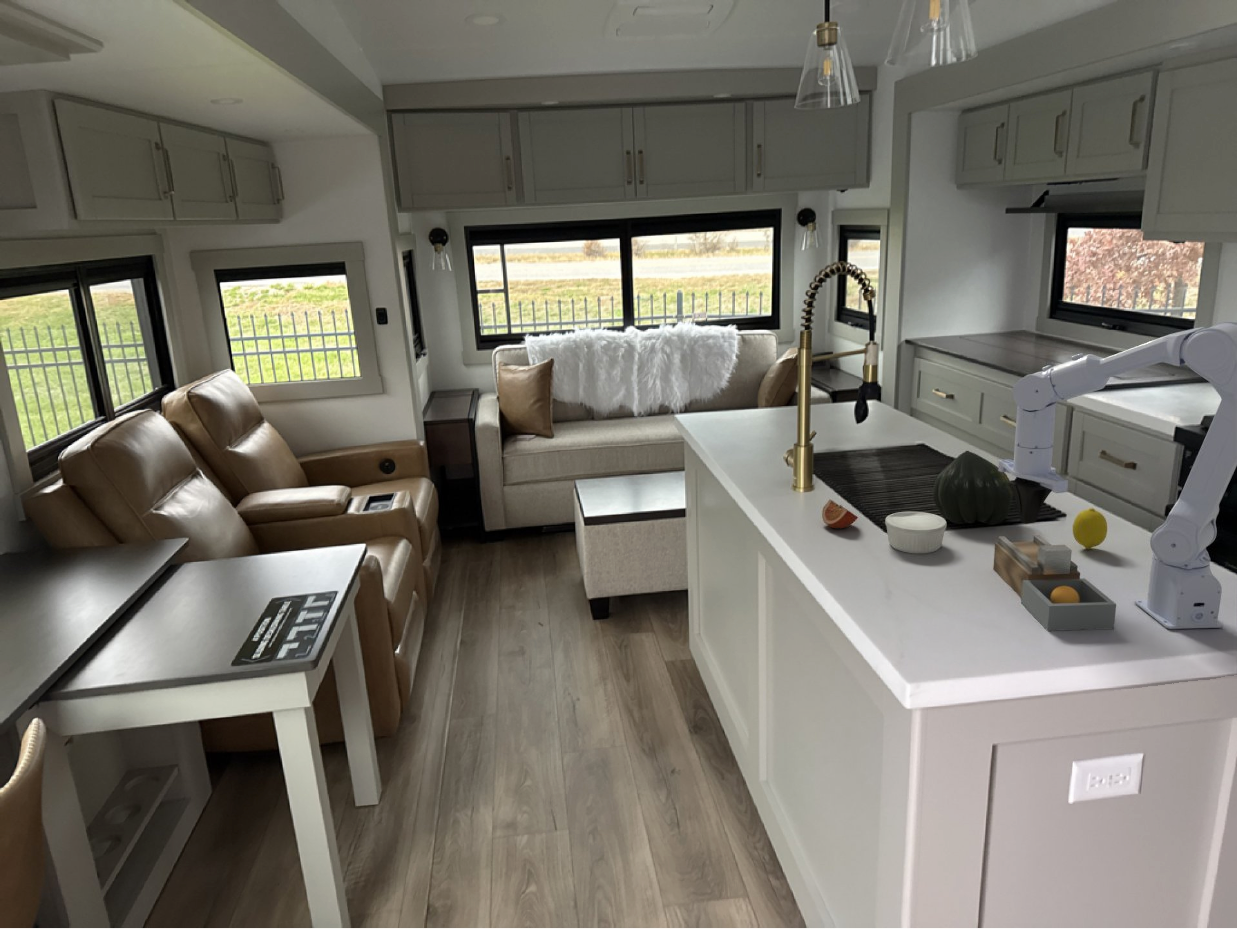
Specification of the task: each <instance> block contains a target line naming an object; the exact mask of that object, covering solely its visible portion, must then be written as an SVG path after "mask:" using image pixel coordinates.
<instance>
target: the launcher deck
mask: <svg viewBox="0 0 1237 929" xmlns="http://www.w3.org/2000/svg"><path fill="white" fill-rule="evenodd" d="M1032 538H1033V539H1032V540H1033V541H1015V542H1011V541H1010V540H1009V539H1008V538H1007V537H1006V536H1005V535H1004V536H998V538H997V542H994V553H993V555H994V556H993V568H992V570H993V571H994V572H995V573H996V574H997V575H998V576H1000V578H1001V579H1002V580H1003V581H1004V582H1005V583H1006V584H1007V585H1008V586H1009V587H1010V588H1011V590H1013V591H1014V592H1015V593H1016V594H1017V595H1018V596H1019V597H1020V598H1022V585H1023V580H1049V579H1081V572H1080V571H1079V570H1078V568H1079V566H1078V565H1077V564H1076V563H1075V562H1074V561H1072V560H1071V564H1070V574H1048V575H1043V574H1042V573H1041V572H1040V571H1039V567H1038V566H1037V563H1038V550H1039V546H1041V545H1052V544H1051V543H1050V542H1049V541H1047V540H1046V539H1045V538H1044V537H1042V536H1041V535H1040V534H1035V535H1033V537H1032Z"/></svg>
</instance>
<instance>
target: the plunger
mask: <svg viewBox="0 0 1237 929" xmlns="http://www.w3.org/2000/svg"><path fill="white" fill-rule="evenodd" d="M1072 551H1073V550H1072V548H1069V547H1068V546H1067V545H1066V544H1051V545H1041V546H1039V550H1038V563H1037V566H1038V567H1039V571H1040V572H1041V573H1042V574H1043V575H1048V574H1070V564H1071V561H1072Z"/></svg>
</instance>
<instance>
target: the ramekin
mask: <svg viewBox="0 0 1237 929" xmlns="http://www.w3.org/2000/svg"><path fill="white" fill-rule="evenodd" d="M884 524H885V526H886V530H887V531H886V532H887V537H888V538H887V539H888V543H889V544H890V545H891V547H892V548H893V549H895V550H897V551H900V552H904V553H907V554H917V555H918V554H921V555H922V554H930V553H933V552H935V551H936V552H937V550H939V549H940V548H941V546H942V545H943V544H942V543H943V541H944V540H943V539H944V535H945V530H946V528H947V521H946V518H945V517H942V516H940V515H937V514H933V513H929V512H923V511H901V512H895V513H892V514H889V515H887V516H886V517H885V521H884Z"/></svg>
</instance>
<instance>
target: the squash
mask: <svg viewBox="0 0 1237 929" xmlns="http://www.w3.org/2000/svg"><path fill="white" fill-rule="evenodd" d="M998 469H999V466H997V465H996V464H994V463H993V462H990V461H989V460H987V459H985V458H984V457H982V456H980V455H979V454H977V453H974V452H972V451H970V450H965V451H964V452H962V453H961V454H959V455H958V456H957V457H955V459H954V460H953V461H952V462H950V463H949V464H948V465H947V466H946V467H945V468H944V469H943V470H942V471H941V472H940V473H939V474H938V476H937V477H936V479H935V480H934V481H935V482H934V484H933V489H932V490H933V491H932V497H933V502H934V504H935V507H936V509H937V510H938V513H940V514H941V515H942V516H943V518H945V519H948V521H950V523H954V524H958V525H963V524H966V523H968V524H973V523H975V522H976V521H977V522H980V523H981V522H982V523H983V524H985V525H988V526H993V525H998V524H1000V523H1002V522H1004V521H1005V519H1006V518H1007V516H1008V515H1009V512H1010V509H1011V506H1012V501H1013V497H1014V495H1013V493H1012V491H1011V489H1010V487H1009V485H1008V482H1009V481H1011V480H1010V478H1009V477H1008V475H1007V473H1006V472H1000V471H998Z"/></svg>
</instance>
